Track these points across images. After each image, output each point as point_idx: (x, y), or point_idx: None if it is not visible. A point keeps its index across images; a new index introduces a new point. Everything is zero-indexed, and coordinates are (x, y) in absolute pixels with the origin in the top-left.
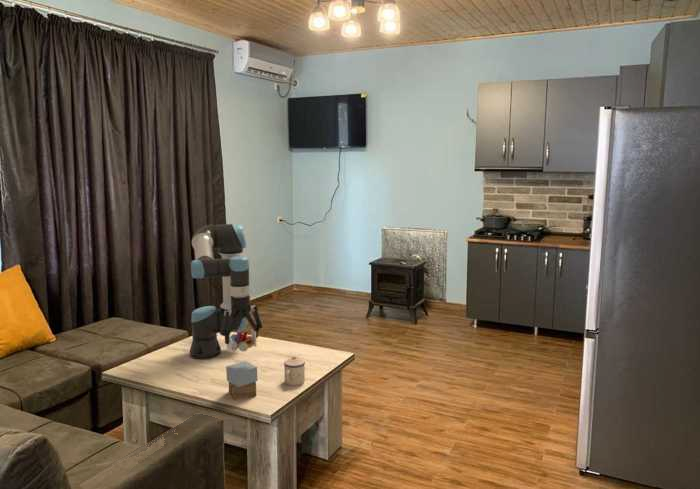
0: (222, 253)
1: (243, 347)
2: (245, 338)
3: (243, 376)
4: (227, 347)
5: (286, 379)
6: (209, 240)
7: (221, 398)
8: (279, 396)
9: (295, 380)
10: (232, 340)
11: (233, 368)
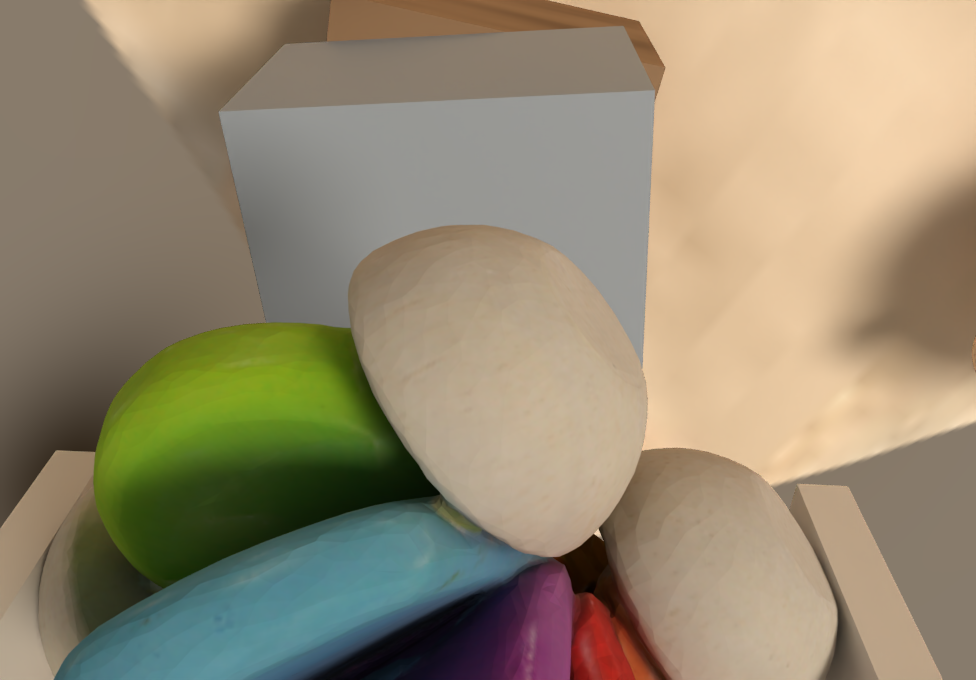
0: None
1: None
2: (647, 645)
3: None
4: (17, 532)
5: (973, 345)
6: None
7: (222, 82)
8: (731, 401)
9: None
10: (219, 439)
11: (303, 276)
